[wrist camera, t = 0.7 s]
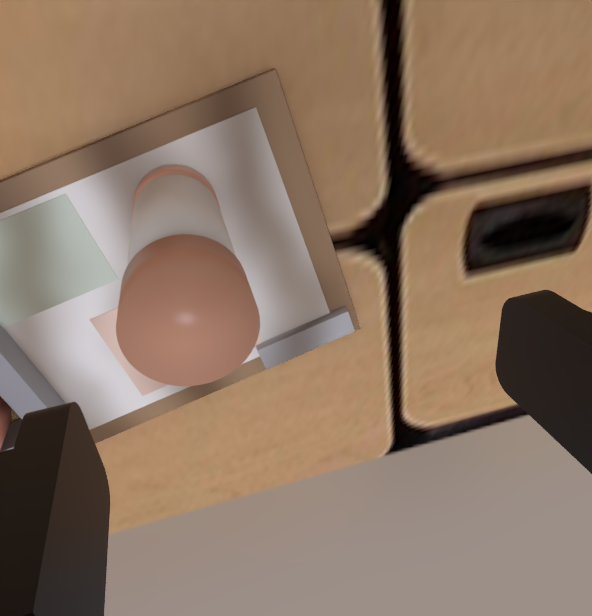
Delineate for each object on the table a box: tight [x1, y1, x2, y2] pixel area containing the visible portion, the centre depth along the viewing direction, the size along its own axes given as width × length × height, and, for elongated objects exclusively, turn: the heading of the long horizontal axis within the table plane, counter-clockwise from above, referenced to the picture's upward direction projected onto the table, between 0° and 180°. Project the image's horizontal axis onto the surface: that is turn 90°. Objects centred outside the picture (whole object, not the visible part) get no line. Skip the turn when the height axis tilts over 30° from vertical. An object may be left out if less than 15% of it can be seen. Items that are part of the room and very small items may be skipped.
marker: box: [116, 164, 260, 386], centre depth 20 cm, size 4×4×12 cm
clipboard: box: [0, 69, 360, 443], centre depth 27 cm, size 20×16×1 cm
